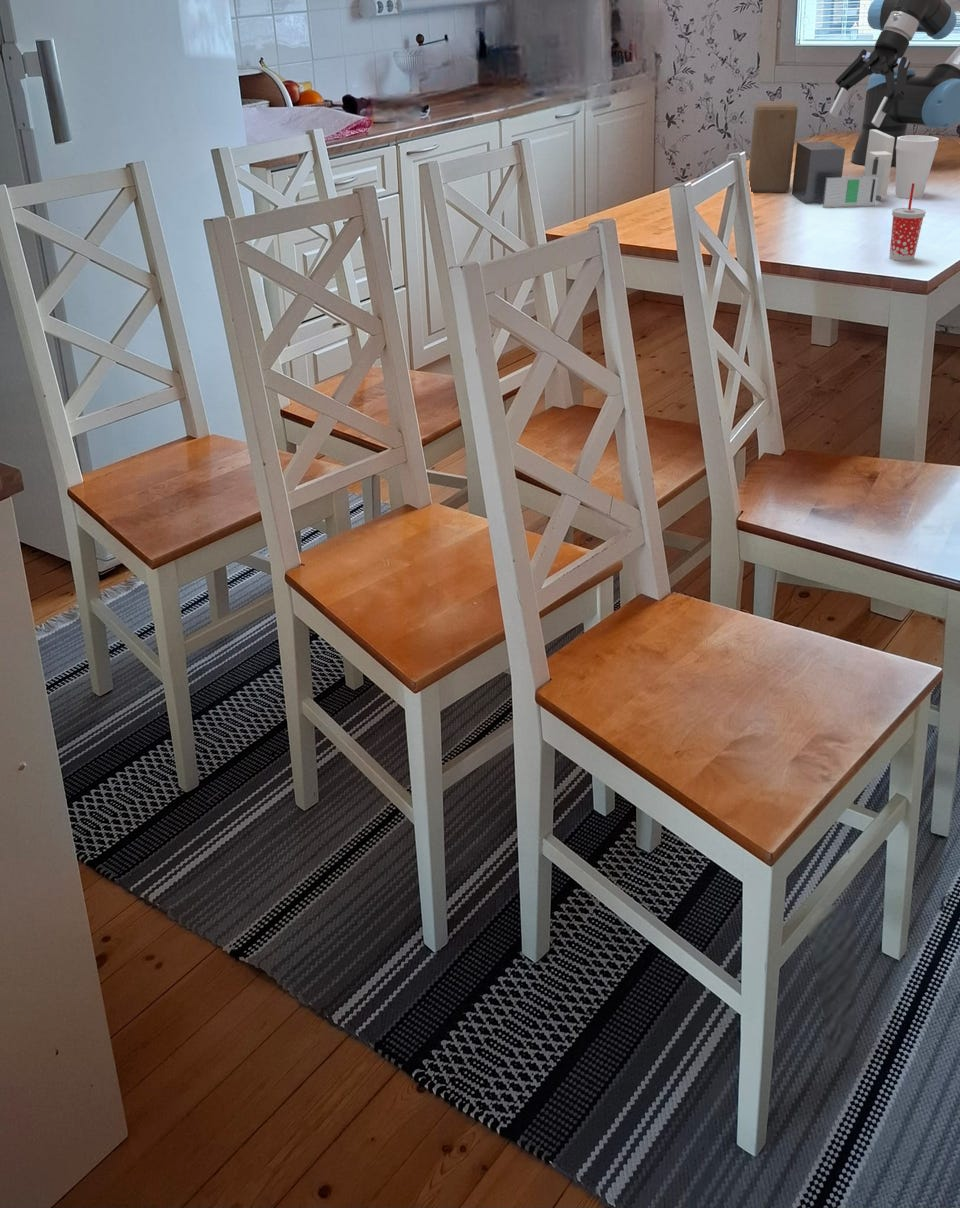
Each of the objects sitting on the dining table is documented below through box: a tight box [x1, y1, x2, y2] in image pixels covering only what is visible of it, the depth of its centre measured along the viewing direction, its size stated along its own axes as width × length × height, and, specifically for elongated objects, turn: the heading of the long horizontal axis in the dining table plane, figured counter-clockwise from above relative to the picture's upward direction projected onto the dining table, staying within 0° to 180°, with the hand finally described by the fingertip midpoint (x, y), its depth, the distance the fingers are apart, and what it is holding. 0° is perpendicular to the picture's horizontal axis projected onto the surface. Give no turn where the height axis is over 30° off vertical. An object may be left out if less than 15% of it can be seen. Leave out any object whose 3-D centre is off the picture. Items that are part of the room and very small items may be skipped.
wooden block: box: [748, 100, 799, 194], centre depth 288 cm, size 10×10×20 cm
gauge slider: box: [863, 129, 895, 197], centre depth 276 cm, size 6×17×13 cm, turn 2°
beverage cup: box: [888, 183, 926, 262], centre depth 226 cm, size 6×6×14 cm
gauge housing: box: [791, 140, 882, 209], centre depth 277 cm, size 18×17×12 cm
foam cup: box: [894, 134, 939, 199], centre depth 279 cm, size 10×9×13 cm
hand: (853, 120), depth 294 cm, fingers open, 13 cm apart
